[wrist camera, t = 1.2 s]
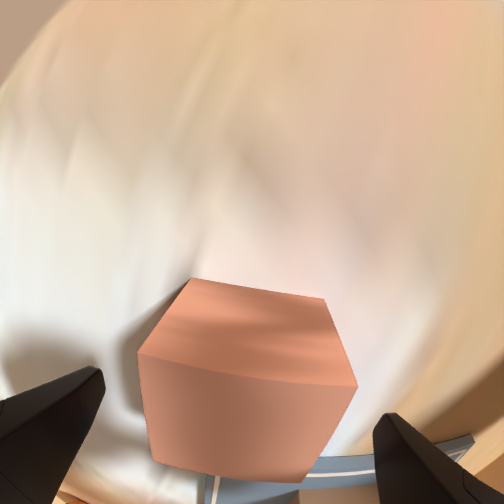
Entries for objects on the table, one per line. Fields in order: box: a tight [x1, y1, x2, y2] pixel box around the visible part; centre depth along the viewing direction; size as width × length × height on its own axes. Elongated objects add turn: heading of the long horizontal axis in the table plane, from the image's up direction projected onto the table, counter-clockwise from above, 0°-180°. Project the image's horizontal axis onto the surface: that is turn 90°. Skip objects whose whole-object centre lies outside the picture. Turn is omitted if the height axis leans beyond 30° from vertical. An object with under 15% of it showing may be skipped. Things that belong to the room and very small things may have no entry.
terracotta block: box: [137, 278, 358, 483], centre depth 9 cm, size 5×5×5 cm
